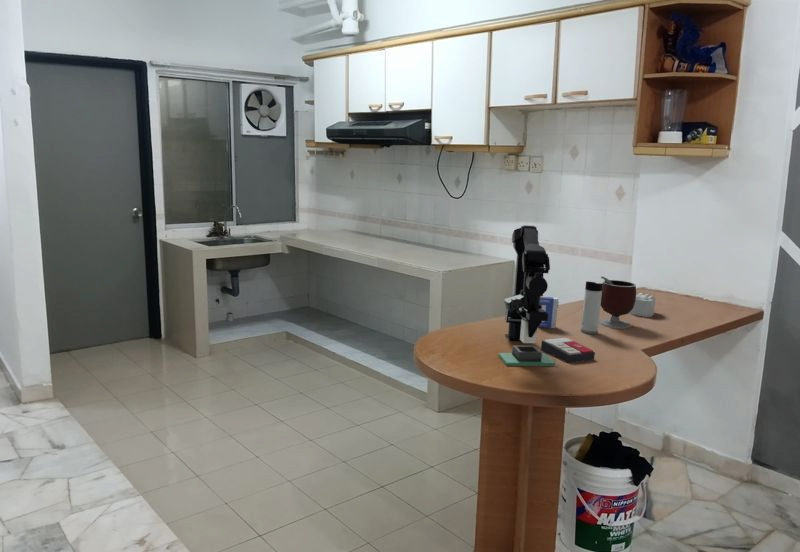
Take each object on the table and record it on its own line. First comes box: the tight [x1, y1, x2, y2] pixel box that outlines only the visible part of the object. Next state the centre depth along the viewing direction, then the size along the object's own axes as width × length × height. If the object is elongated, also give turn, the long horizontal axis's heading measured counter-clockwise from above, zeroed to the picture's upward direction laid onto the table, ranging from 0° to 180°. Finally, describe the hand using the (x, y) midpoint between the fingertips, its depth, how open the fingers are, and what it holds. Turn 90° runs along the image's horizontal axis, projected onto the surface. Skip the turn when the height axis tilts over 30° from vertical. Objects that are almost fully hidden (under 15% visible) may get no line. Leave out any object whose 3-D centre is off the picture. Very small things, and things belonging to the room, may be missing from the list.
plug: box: [519, 317, 538, 344], centre depth 215 cm, size 4×5×8 cm
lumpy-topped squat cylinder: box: [627, 292, 656, 318], centre depth 291 cm, size 10×13×9 cm
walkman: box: [538, 296, 559, 329], centre depth 260 cm, size 8×3×12 cm, turn 84°
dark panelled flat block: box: [540, 337, 596, 364], centre depth 226 cm, size 11×4×15 cm
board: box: [498, 345, 556, 367], centre depth 217 cm, size 10×16×4 cm, turn 96°
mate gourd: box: [598, 276, 637, 329], centre depth 268 cm, size 16×14×20 cm
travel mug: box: [580, 280, 603, 335], centre depth 254 cm, size 6×7×20 cm
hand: (528, 335), depth 215 cm, fingers closed on plug, 4 cm apart
